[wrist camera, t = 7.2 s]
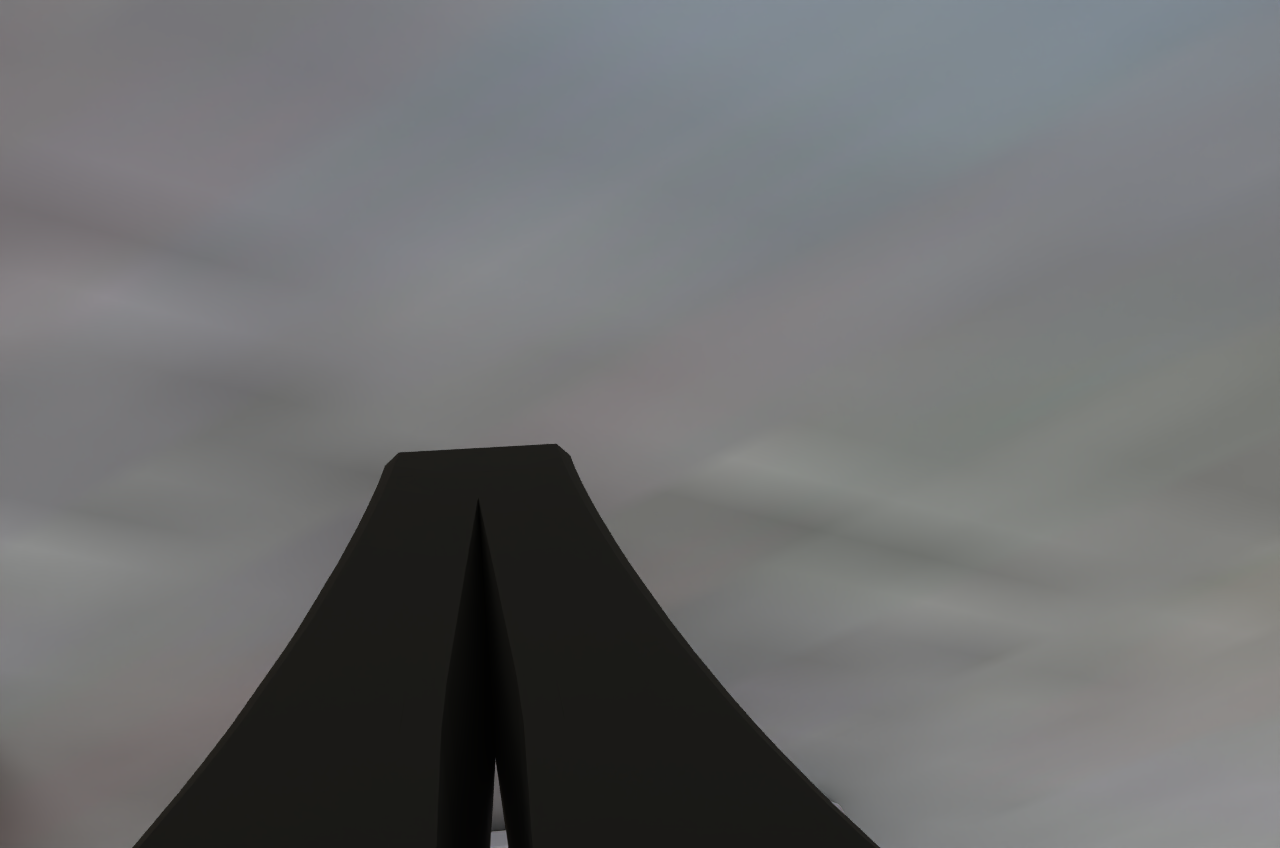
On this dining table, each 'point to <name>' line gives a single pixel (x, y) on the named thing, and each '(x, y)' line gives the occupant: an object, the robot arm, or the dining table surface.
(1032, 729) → the dining table surface
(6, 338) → the dining table surface
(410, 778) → the robot arm
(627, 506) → the dining table surface
